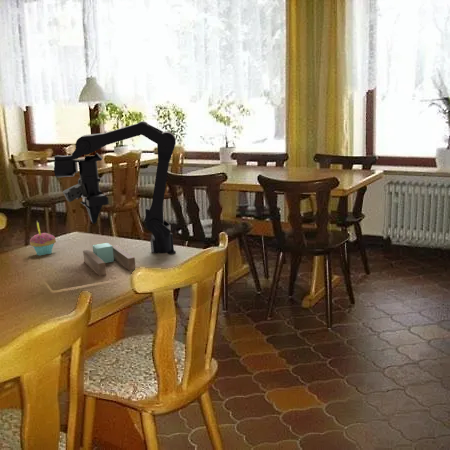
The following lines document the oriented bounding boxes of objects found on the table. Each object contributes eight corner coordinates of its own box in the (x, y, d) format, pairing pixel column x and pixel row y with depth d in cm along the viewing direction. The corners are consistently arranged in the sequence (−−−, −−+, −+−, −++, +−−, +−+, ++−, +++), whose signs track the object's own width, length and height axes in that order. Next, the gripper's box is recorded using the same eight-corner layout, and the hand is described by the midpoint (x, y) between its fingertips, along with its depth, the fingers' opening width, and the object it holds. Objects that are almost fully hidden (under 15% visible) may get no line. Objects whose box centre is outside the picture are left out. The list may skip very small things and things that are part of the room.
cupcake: (49, 257, 215) (45, 222, 212) (26, 257, 217) (21, 222, 214) (61, 250, 223) (57, 216, 221) (38, 250, 225) (34, 216, 222)
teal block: (109, 257, 208) (107, 242, 207) (113, 261, 204) (112, 246, 202) (93, 260, 206) (92, 245, 205) (98, 264, 201) (96, 248, 200)
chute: (118, 258, 210) (116, 244, 209) (135, 271, 194) (134, 257, 193) (84, 263, 205) (82, 250, 204) (99, 278, 189) (98, 263, 188)
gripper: (57, 175, 211) (62, 221, 214) (70, 182, 194) (76, 232, 198) (90, 171, 215) (95, 217, 219) (106, 177, 199) (111, 227, 202)
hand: (93, 223), depth 209 cm, fingers closed
